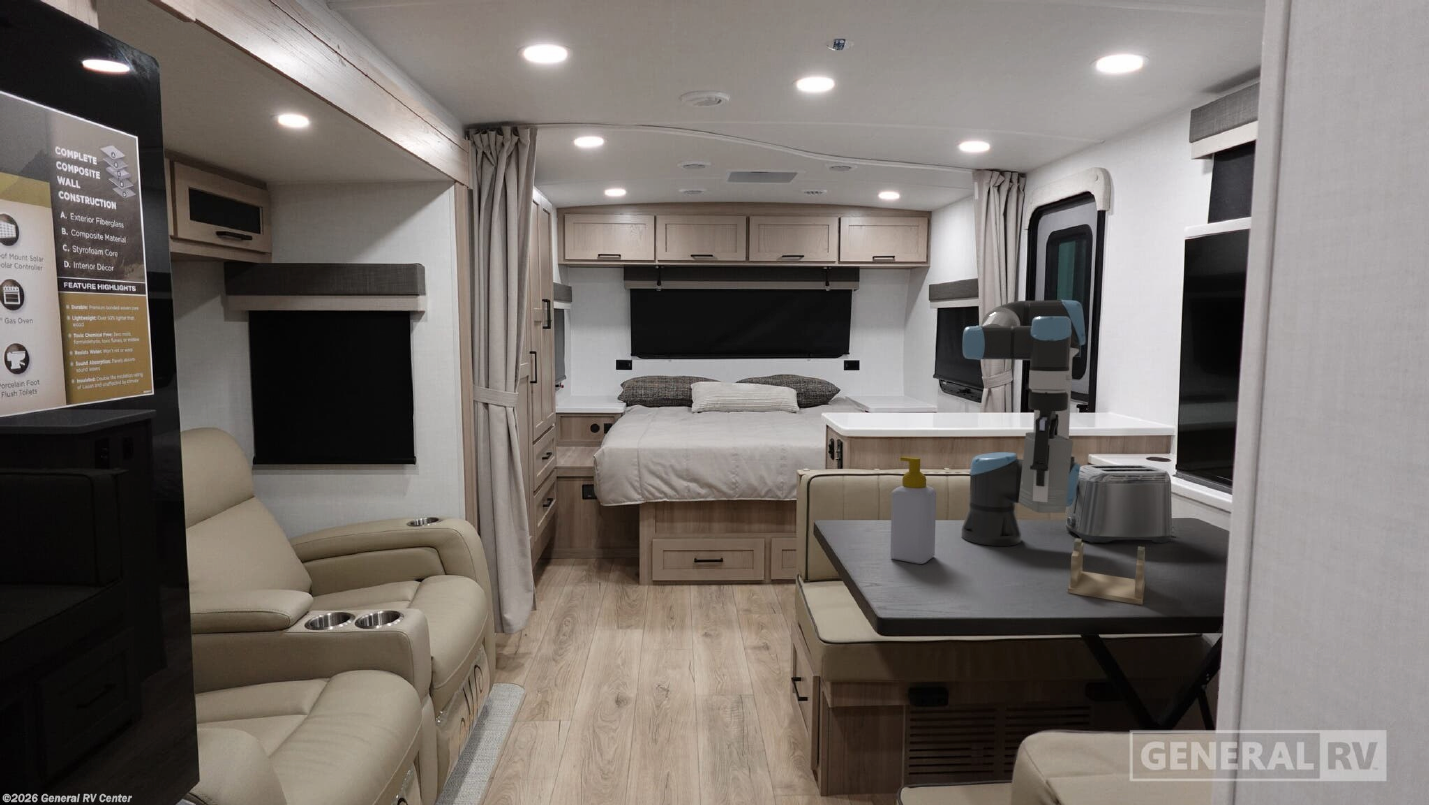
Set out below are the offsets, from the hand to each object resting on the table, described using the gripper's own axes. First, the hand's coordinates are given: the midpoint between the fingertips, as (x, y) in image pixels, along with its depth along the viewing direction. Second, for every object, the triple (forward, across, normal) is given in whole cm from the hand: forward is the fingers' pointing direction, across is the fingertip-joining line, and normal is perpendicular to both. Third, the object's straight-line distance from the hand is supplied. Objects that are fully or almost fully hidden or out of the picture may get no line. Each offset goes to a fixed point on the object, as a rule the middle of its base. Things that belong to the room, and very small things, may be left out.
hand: (1044, 496), depth 159 cm
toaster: (+22, +60, -12) cm, 65 cm away
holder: (+22, +12, -12) cm, 27 cm away
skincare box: (+3, 0, 0) cm, 3 cm away
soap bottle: (+22, +12, +31) cm, 40 cm away
